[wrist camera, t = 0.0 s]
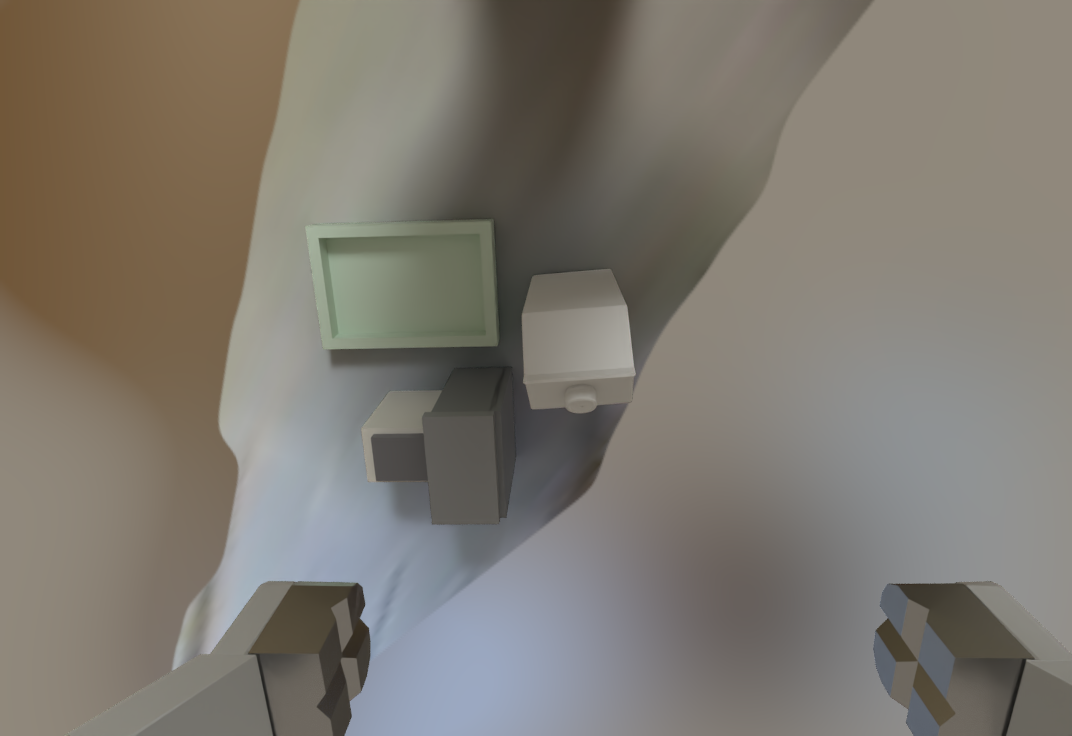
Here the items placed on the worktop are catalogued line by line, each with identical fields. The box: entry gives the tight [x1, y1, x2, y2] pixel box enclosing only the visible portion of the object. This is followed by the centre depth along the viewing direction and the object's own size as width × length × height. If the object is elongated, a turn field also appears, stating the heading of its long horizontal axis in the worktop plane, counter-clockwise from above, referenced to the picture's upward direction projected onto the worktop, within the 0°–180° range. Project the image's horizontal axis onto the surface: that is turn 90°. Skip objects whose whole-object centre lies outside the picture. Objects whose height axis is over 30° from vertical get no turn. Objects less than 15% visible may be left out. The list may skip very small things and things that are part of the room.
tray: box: [305, 219, 500, 349], centre depth 56 cm, size 11×16×2 cm
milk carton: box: [522, 269, 636, 413], centre depth 48 cm, size 7×7×19 cm
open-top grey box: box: [422, 367, 516, 524], centre depth 55 cm, size 10×6×12 cm, turn 2°
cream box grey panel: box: [361, 390, 442, 482], centre depth 57 cm, size 5×10×10 cm, turn 92°
